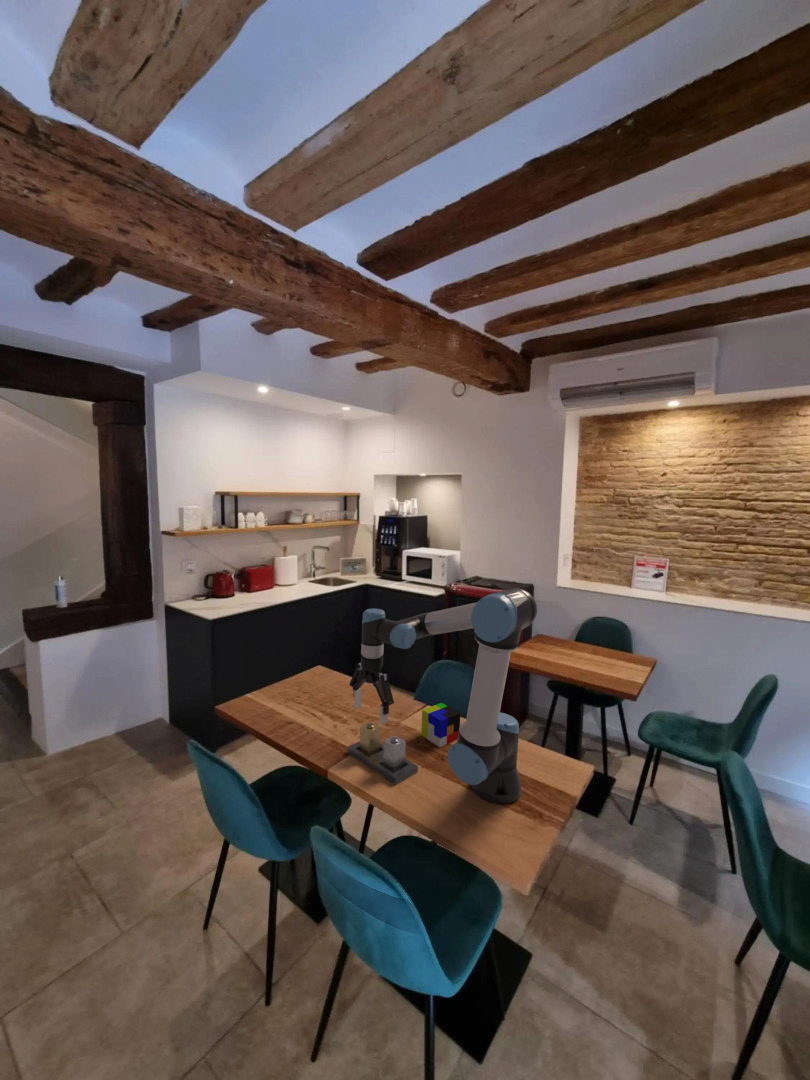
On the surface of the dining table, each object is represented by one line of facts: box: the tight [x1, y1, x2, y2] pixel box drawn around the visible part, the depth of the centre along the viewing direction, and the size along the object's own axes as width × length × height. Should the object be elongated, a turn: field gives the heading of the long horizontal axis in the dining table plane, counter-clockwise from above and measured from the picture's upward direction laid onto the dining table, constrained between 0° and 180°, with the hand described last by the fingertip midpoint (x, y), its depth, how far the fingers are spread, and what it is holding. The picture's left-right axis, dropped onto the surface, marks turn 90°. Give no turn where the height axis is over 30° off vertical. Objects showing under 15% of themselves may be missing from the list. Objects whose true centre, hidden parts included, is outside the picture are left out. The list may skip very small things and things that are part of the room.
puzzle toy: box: [420, 702, 462, 748], centre depth 169 cm, size 10×10×10 cm
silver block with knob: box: [383, 734, 407, 773], centre depth 147 cm, size 5×5×10 cm
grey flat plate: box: [346, 740, 419, 786], centre depth 152 cm, size 24×10×2 cm, turn 45°
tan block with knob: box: [359, 721, 382, 757], centre depth 156 cm, size 5×5×10 cm
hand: (370, 714), depth 155 cm, fingers open, 13 cm apart
